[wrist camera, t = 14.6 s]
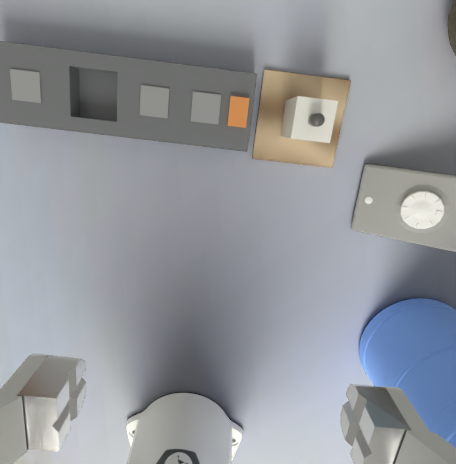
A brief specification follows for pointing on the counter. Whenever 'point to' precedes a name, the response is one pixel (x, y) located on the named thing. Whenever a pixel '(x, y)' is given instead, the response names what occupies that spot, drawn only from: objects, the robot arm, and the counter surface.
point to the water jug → (416, 358)
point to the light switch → (407, 206)
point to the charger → (309, 119)
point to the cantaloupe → (452, 27)
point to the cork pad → (272, 111)
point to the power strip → (125, 96)
